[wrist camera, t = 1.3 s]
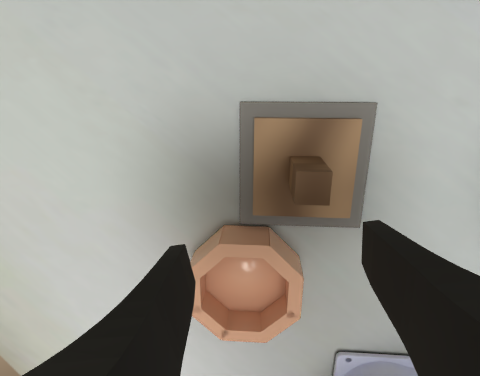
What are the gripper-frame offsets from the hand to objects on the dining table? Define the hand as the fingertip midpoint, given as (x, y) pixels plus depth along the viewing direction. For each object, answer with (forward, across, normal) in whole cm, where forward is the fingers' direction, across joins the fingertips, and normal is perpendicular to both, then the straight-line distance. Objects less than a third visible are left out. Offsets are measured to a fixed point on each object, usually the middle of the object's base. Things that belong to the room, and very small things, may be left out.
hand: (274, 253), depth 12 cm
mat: (+10, -3, +1) cm, 11 cm away
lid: (+10, -3, +1) cm, 11 cm away
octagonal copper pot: (+9, +2, +9) cm, 13 cm away
